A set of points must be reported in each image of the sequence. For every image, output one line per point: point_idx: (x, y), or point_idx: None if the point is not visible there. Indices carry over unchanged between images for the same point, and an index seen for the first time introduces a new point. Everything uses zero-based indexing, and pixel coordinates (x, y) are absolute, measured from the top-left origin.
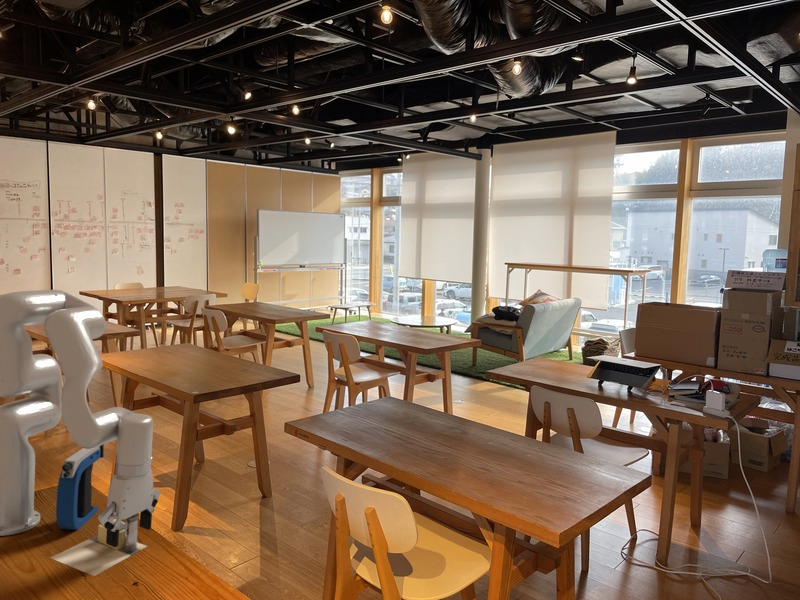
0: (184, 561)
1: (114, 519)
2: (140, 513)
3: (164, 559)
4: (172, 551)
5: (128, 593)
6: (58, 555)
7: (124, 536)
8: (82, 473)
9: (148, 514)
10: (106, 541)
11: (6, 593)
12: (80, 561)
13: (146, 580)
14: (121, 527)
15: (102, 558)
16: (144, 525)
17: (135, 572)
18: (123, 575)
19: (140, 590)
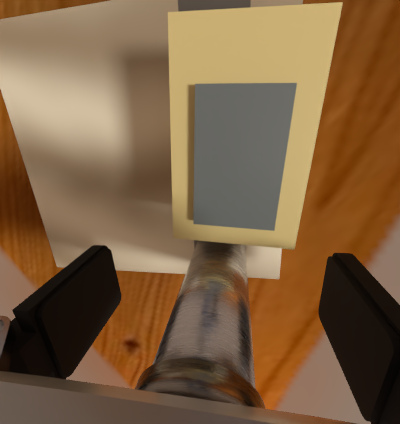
0: (278, 384)
1: (324, 21)
2: (384, 335)
3: (257, 340)
4: (311, 335)
5: (98, 353)
6: (11, 33)
7: (186, 273)
8: None
9: (380, 415)
10: (89, 250)
11: None
12: (59, 161)
13: (155, 356)
14: (231, 208)
15: (122, 209)
16: (329, 302)
17: (161, 317)
18: (132, 302)
19: (122, 366)
